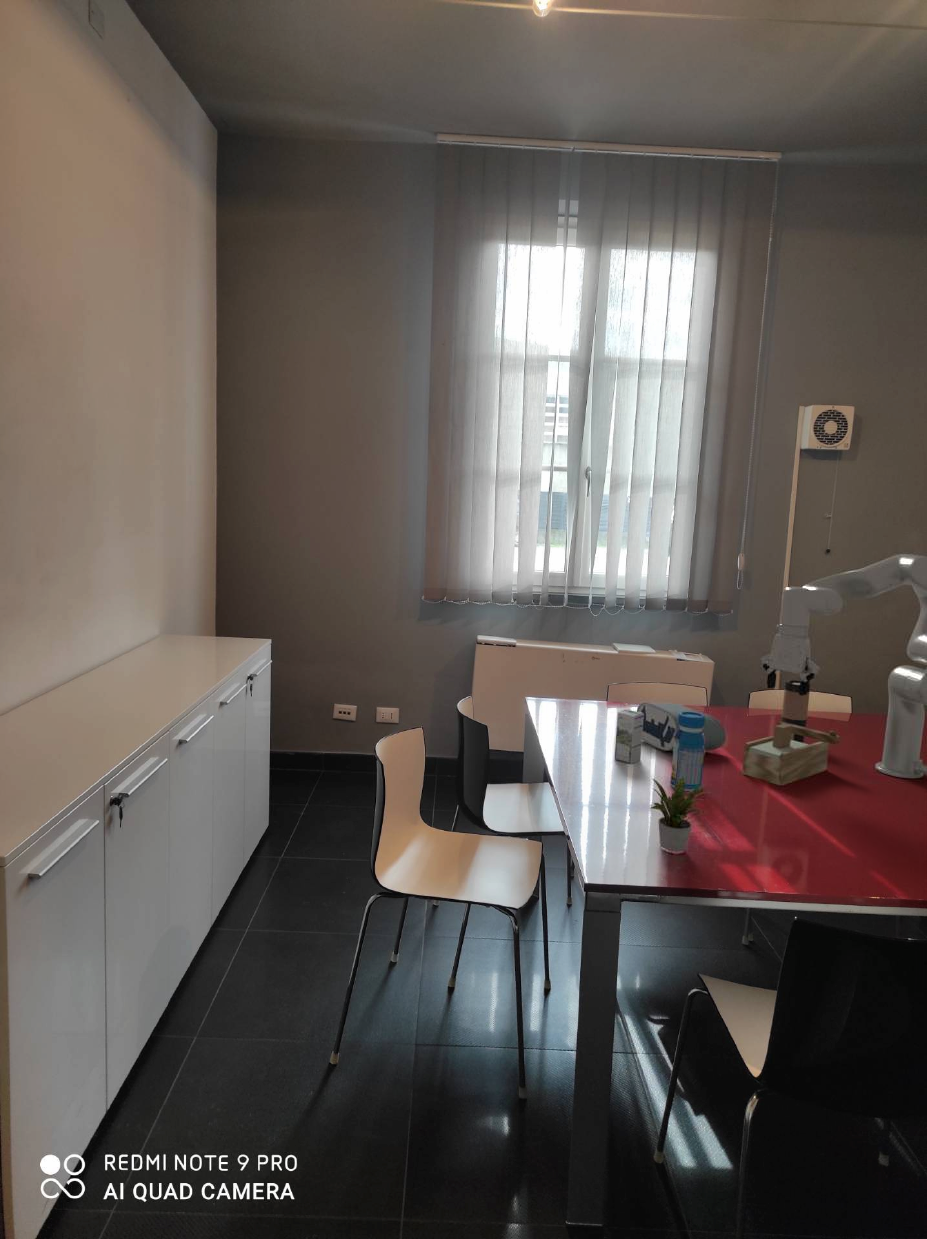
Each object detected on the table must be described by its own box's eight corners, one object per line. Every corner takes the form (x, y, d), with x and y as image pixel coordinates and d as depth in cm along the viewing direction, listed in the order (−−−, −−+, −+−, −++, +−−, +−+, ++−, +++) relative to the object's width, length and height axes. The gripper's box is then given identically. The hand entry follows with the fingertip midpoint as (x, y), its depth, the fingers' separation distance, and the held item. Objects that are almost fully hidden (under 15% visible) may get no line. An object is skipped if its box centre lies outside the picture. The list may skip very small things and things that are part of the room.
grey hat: (632, 737, 274) (637, 698, 273) (681, 736, 282) (686, 698, 280) (673, 758, 254) (678, 716, 253) (725, 756, 262) (730, 715, 260)
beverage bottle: (686, 794, 223) (692, 719, 221) (662, 784, 231) (668, 712, 228) (708, 789, 228) (715, 716, 225) (685, 780, 235) (691, 709, 232)
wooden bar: (839, 742, 246) (840, 732, 246) (834, 744, 245) (836, 733, 244) (781, 728, 260) (782, 717, 259) (777, 729, 258) (778, 718, 258)
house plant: (720, 866, 180) (727, 792, 177) (655, 866, 178) (662, 790, 176) (696, 839, 194) (703, 769, 191) (636, 838, 192) (642, 768, 190)
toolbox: (826, 770, 250) (829, 740, 249) (781, 785, 234) (784, 754, 233) (788, 759, 259) (791, 730, 258) (742, 773, 243) (745, 742, 242)
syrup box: (641, 760, 251) (644, 712, 249) (630, 764, 246) (634, 715, 244) (624, 755, 255) (628, 708, 252) (613, 759, 250) (617, 711, 248)
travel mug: (806, 747, 273) (812, 686, 270) (780, 745, 274) (787, 684, 272) (801, 741, 280) (808, 681, 278) (777, 738, 282) (783, 679, 279)
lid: (812, 749, 246) (814, 725, 245) (778, 759, 234) (781, 734, 233) (782, 741, 253) (785, 717, 252) (748, 751, 241) (751, 726, 240)
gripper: (758, 627, 242) (751, 686, 245) (816, 637, 229) (809, 699, 232) (772, 625, 247) (766, 683, 250) (829, 635, 234) (822, 696, 237)
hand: (786, 691), depth 241 cm, fingers open, 9 cm apart
